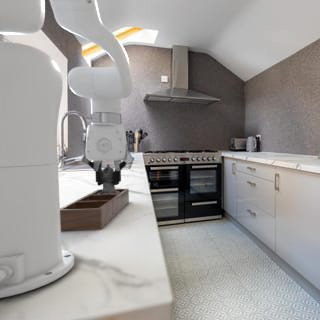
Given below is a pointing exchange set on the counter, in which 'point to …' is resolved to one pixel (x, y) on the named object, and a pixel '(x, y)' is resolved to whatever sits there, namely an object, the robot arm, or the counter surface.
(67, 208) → the divided wooden tray
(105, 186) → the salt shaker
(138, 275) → the counter surface
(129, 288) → the counter surface
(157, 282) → the counter surface
